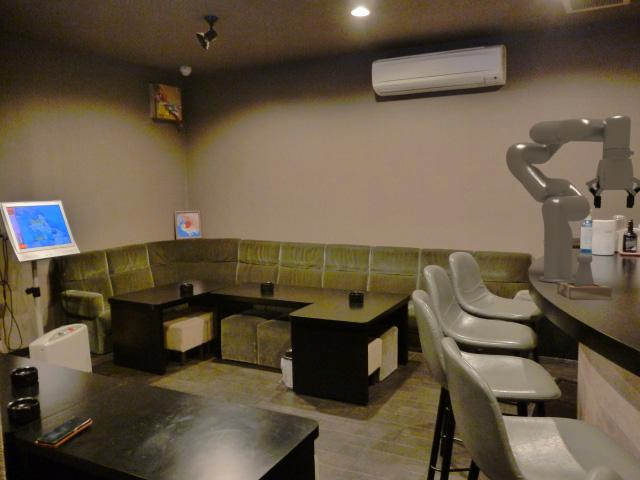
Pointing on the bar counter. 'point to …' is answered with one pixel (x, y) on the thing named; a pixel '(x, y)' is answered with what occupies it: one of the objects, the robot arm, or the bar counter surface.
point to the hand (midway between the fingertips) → (613, 208)
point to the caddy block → (585, 291)
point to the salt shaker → (584, 271)
